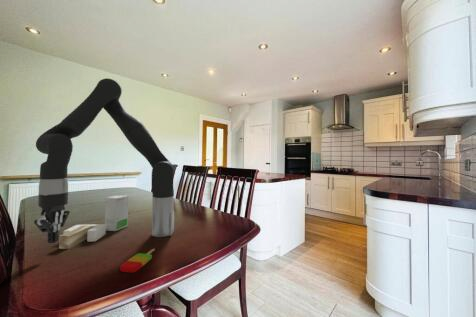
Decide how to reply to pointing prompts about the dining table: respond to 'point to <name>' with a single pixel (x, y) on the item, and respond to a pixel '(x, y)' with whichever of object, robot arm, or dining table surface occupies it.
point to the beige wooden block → (73, 237)
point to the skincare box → (116, 212)
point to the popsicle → (136, 262)
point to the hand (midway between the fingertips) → (53, 242)
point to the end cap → (91, 231)
